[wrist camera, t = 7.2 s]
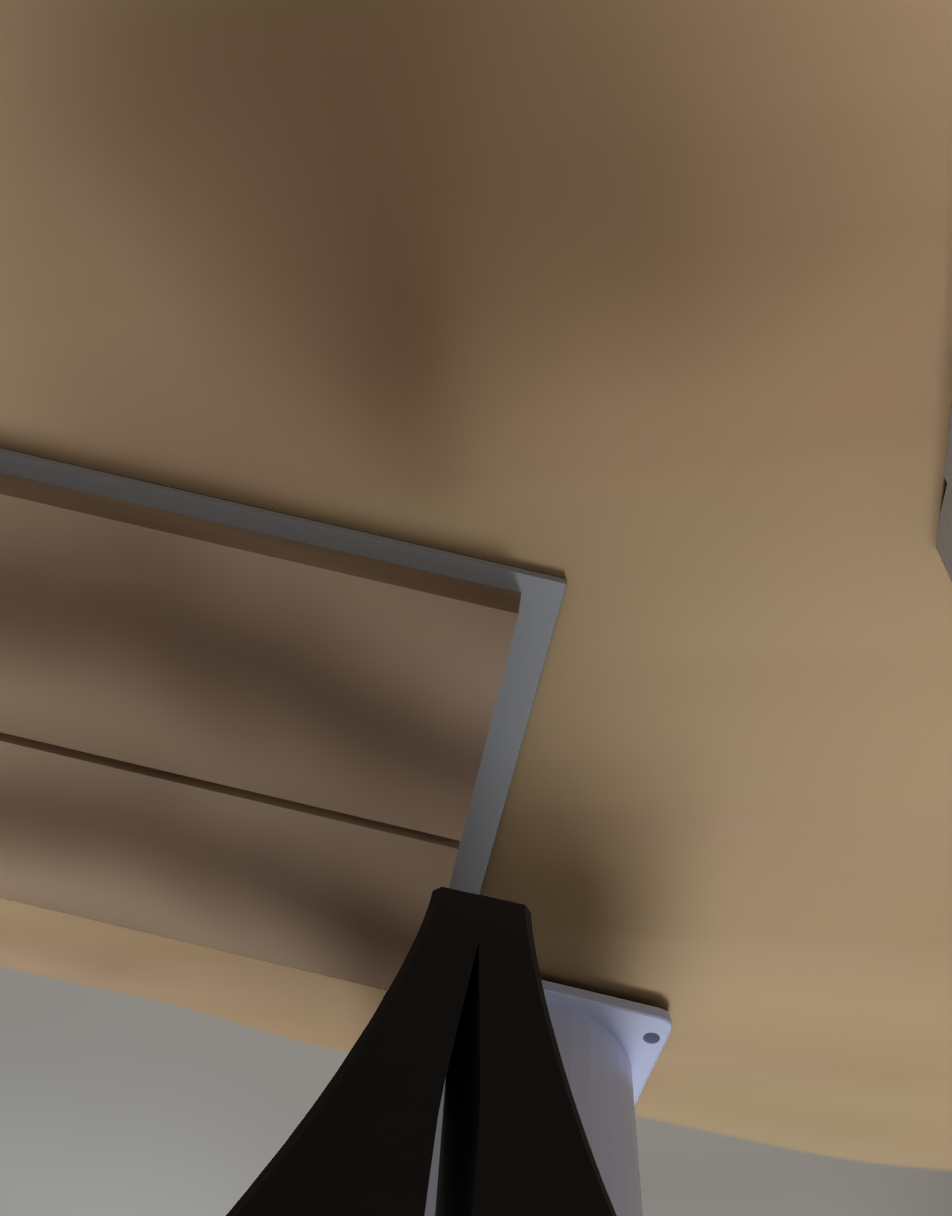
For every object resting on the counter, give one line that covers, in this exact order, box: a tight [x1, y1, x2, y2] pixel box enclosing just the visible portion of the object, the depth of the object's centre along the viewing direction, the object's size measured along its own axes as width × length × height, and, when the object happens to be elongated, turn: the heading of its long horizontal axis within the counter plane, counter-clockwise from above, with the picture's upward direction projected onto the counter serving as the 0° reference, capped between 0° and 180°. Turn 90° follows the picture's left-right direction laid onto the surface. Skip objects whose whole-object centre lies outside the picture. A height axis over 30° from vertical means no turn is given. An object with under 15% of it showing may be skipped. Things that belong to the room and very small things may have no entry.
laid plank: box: [0, 732, 460, 990], centre depth 23 cm, size 6×14×1 cm, turn 79°
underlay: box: [0, 448, 567, 895], centre depth 22 cm, size 14×16×1 cm
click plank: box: [0, 472, 521, 841], centre depth 20 cm, size 7×14×1 cm, turn 79°
